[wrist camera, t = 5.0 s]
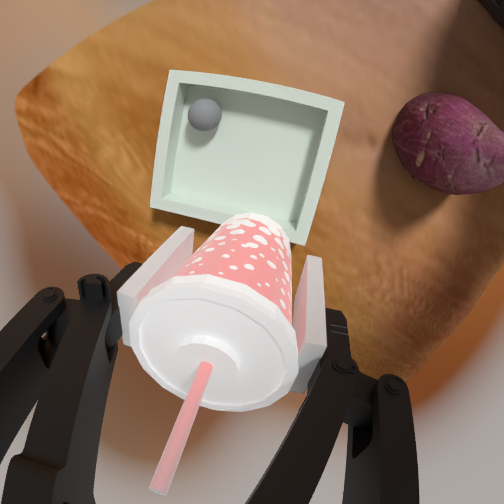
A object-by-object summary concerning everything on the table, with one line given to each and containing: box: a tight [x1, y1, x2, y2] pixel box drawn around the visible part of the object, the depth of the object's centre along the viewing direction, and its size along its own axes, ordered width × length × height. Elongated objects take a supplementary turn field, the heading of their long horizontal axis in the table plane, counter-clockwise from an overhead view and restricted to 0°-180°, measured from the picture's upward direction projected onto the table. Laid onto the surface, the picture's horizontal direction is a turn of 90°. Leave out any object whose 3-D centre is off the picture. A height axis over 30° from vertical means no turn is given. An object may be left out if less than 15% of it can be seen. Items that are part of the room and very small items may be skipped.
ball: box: [188, 99, 222, 131], centre depth 26 cm, size 3×3×3 cm
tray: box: [150, 70, 345, 246], centre depth 28 cm, size 16×14×4 cm
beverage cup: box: [129, 213, 299, 495], centre depth 12 cm, size 6×6×14 cm
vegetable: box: [392, 92, 504, 195], centre depth 19 cm, size 10×10×15 cm
